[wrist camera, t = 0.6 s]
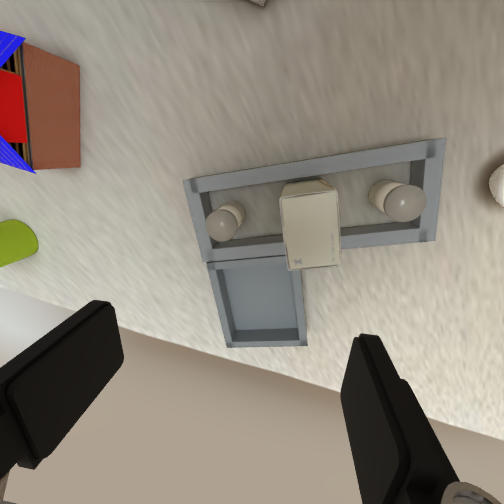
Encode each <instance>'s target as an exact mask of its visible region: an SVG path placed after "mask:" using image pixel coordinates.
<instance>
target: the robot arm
mask: <svg viewBox="0 0 504 504" xmlns="http://www.w3.org/2000/svg"><path fill="white" fill-rule="evenodd" d="M123 360H124V354H123V349H122V344H121V339H120V334H119V329H118V324H117V319H116V314H115V309H114V307H113V306H112V305H111V303H110V302H107V301H99V300H93V301H91V302H89V303H88V304H87V305H85V306H84V307H83V308H81V309H80V310H79V311H77V312H76V313H74V314H73V315H72V316H70V317H69V318H68V319H66V320H65V321H64V322H62V323H61V324H60V325H58V326H57V327H55V328H54V329H53V330H51V331H50V332H49V333H47V334H46V335H44V336H43V337H42V338H40V339H39V340H38V341H36V342H35V343H34V344H32V345H31V346H30V347H28V348H27V349H25V350H24V351H23V352H21V353H20V354H19V355H17V356H16V357H15V358H13V359H12V360H10V361H9V362H8V363H6V364H5V365H4V366H2V367H1V368H0V504H16V503H11V502H7V501H3V497H4V493H5V489H6V485H7V480H8V476H9V472H10V469H11V468H12V467H13V466H14V465H15V464H16V463H17V464H18V466H19V467H24V468H28V469H33V470H34V469H35V468H36V467H37V466H38V464H39V463H40V462H41V461H42V460H43V458H46V457H48V456H49V455H50V454H51V453H52V452H53V451H54V450H55V448H56V447H57V446H58V445H59V443H60V442H61V441H62V439H63V438H64V437H65V436H66V434H67V433H68V432H69V431H70V429H71V428H72V427H73V426H74V424H75V423H76V422H77V421H78V419H79V418H80V417H81V415H82V414H83V413H84V412H85V411H86V409H87V408H88V407H89V406H90V404H91V403H92V402H93V401H94V399H95V398H96V397H97V396H98V394H99V393H100V392H101V391H102V389H103V388H104V387H105V386H106V384H107V383H108V382H109V381H110V379H111V378H112V377H113V376H114V374H115V373H116V372H117V371H118V369H119V368H120V367H121V365H122V363H123ZM341 403H342V408H343V413H344V418H345V422H346V427H347V432H348V437H349V441H350V446H351V451H352V456H353V460H354V465H355V470H356V475H357V479H358V484H359V489H360V494H361V498H362V503H363V504H501V503H500V502H499V501H498V500H497V499H495V498H494V497H493V496H492V495H490V494H489V493H487V492H485V491H484V490H482V489H481V488H479V487H477V486H474V485H472V484H469V483H467V482H460V480H459V479H458V477H457V475H456V473H455V471H454V469H453V467H452V465H451V463H450V462H449V459H448V458H447V456H446V454H445V452H444V450H443V448H442V446H441V444H440V442H439V440H438V439H437V437H436V435H435V433H434V431H433V429H432V427H431V425H430V423H429V421H428V419H427V417H426V416H425V414H424V412H423V410H422V408H421V406H420V404H419V402H418V400H417V398H416V396H415V395H414V393H413V391H412V389H411V387H410V385H409V384H408V382H407V381H406V380H404V379H400V377H399V375H398V373H397V371H396V369H395V367H394V365H393V363H392V361H391V359H390V357H389V355H388V353H387V351H386V349H385V347H384V345H383V343H382V341H381V339H380V337H379V336H377V335H370V334H360V335H359V337H355V338H354V340H353V343H352V347H351V351H350V355H349V359H348V363H347V367H346V371H345V375H344V379H343V383H342V387H341Z"/></svg>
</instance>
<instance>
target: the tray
mask: <svg viewBox="0 0 504 504" xmlns="http://www.w3.org/2000/svg"><path fill="white" fill-rule="evenodd" d="M206 264H207V268H208V272H209V276H210V280H211V285H212V289H213V293H214V297H215V301H216V305H217V309H218V313H219V317H220V321H221V326H222V330H223V334H224V338H225V342H226V346H227V348H235V347H283V346H308V344H307V333H306V323H305V312H304V302H303V292H302V282H301V272H300V270H292V271H288V268H287V261H286V255H276V256H265V257H254V258H244V259H233V260H222V261H211V262H207V263H206Z"/></svg>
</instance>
